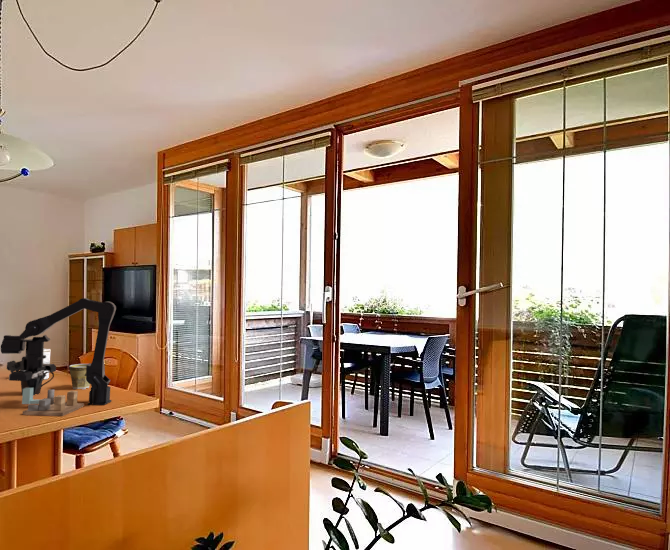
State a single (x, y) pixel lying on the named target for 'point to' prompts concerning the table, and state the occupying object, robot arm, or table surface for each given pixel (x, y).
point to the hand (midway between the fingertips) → (32, 394)
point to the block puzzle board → (55, 405)
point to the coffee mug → (25, 385)
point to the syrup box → (46, 360)
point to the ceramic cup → (78, 376)
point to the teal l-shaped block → (29, 396)
